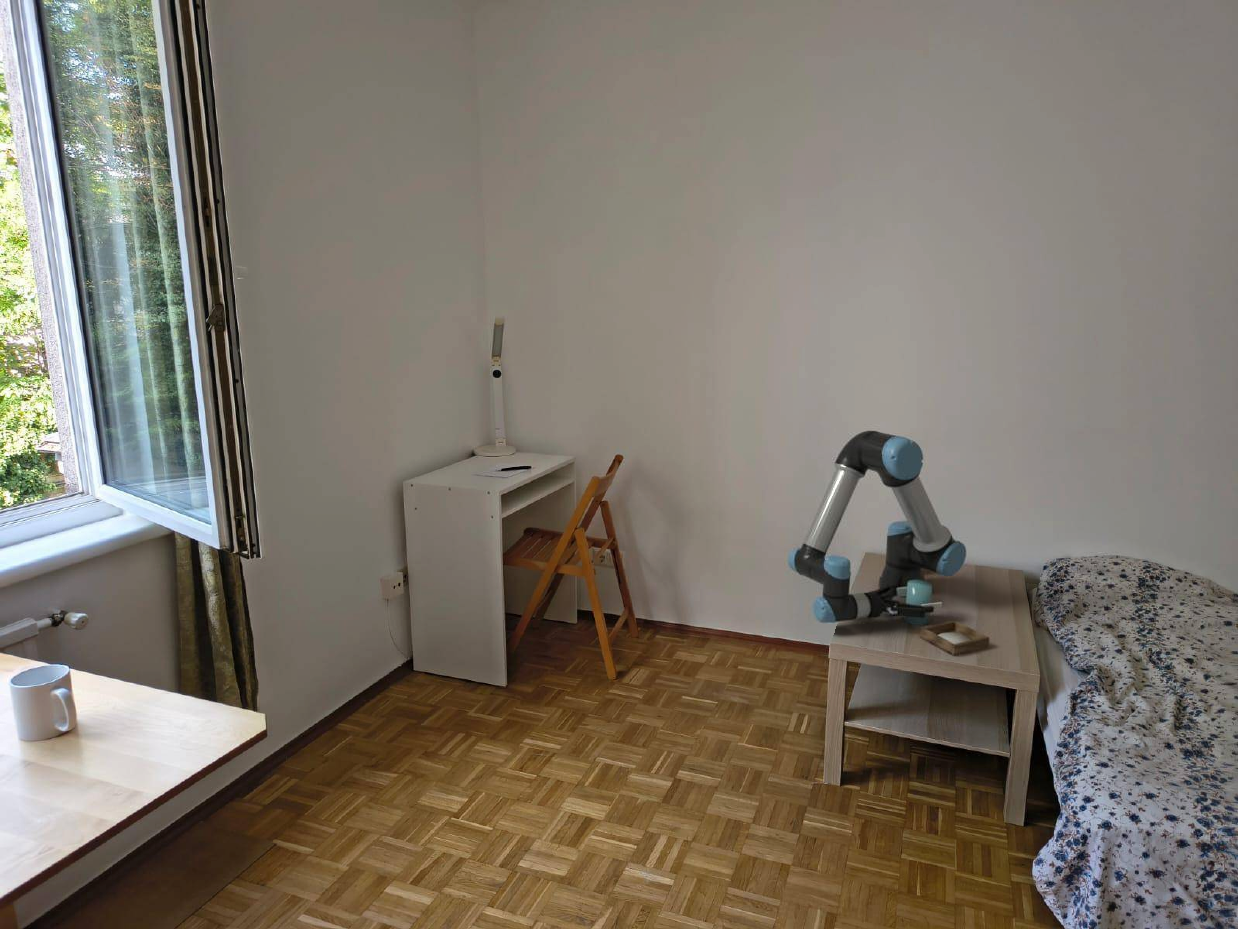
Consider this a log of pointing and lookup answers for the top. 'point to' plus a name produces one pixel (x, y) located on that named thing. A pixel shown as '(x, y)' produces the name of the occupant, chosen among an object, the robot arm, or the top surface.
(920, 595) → the teal cylinder
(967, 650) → the walnut tray
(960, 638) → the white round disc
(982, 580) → the top surface
